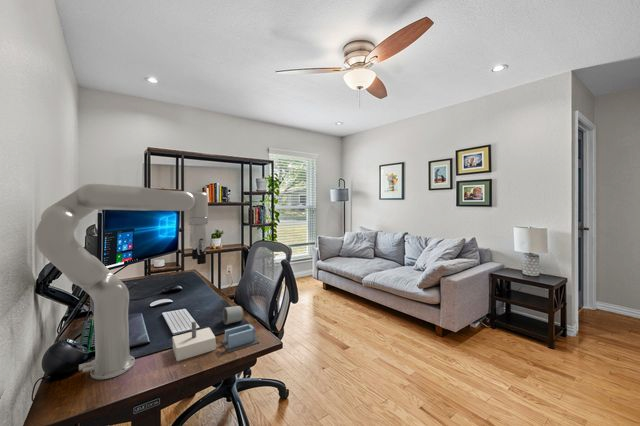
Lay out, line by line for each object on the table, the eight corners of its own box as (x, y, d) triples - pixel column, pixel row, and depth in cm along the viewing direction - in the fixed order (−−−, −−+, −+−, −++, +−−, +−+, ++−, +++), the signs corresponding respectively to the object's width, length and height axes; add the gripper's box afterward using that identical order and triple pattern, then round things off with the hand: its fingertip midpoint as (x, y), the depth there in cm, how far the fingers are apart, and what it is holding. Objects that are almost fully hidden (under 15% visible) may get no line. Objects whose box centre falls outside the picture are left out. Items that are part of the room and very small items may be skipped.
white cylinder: (244, 322, 134) (244, 307, 134) (227, 327, 129) (227, 311, 129) (236, 314, 143) (236, 300, 142) (220, 319, 138) (220, 303, 137)
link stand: (176, 361, 103) (176, 332, 102) (172, 348, 111) (172, 322, 110) (215, 349, 111) (215, 323, 110) (209, 338, 119) (209, 313, 118)
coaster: (228, 352, 109) (228, 351, 109) (221, 341, 117) (221, 340, 117) (259, 342, 117) (259, 341, 117) (250, 332, 125) (250, 331, 125)
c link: (229, 348, 111) (229, 336, 111) (224, 341, 116) (224, 330, 116) (255, 340, 118) (255, 329, 117) (250, 334, 122) (250, 323, 122)
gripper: (184, 219, 122) (185, 258, 123) (193, 223, 108) (193, 267, 109) (202, 219, 126) (203, 256, 127) (213, 223, 112) (213, 264, 113)
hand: (198, 261), depth 118 cm, fingers open, 9 cm apart
